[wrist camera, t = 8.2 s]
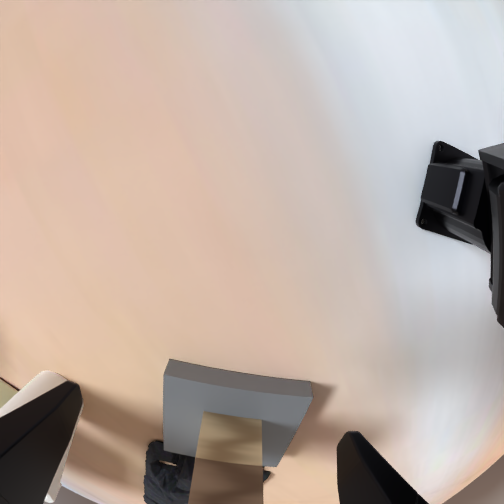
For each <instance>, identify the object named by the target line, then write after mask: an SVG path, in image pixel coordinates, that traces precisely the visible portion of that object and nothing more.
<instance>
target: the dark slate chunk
mask: <svg viewBox="0 0 504 504" xmlns="http://www.w3.org/2000/svg"><path fill="white" fill-rule="evenodd" d="M148 447H149V449H148V450H147V452H146V455H147V456H146V475H145V476H144V478H145V479H144V485H145V487H144V489H145V490H144V492H145V495H144V496H143V497H144V501H145V502H146V503H147V504H188V501H189V495H190V488H191V482H192V476H193V470H194V464H195V457H192V456H187V455H182V454H177V453H173V452H169V451H164V443H161V442H158V441H155V442H152V443H150V445H149V446H148ZM159 460H160V461H167V462H170V463H173V464H176V465H177V466H173V465H168V464H164V463H161V462H160V461H159ZM263 468H264V466H263ZM269 475H270V472H268V471H264V469H263V482H264V481H265V480H266V479H267V478H268V477H269Z"/></svg>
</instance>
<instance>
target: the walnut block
mask: <svg viewBox="0 0 504 504" xmlns="http://www.w3.org/2000/svg"><path fill="white" fill-rule="evenodd" d="M188 504H263V466H256V465H245V464H236V463H228V462H221V461H214V460H208V459H202V458H197V457H196V458H195V464H194V470H193V476H192V482H191V488H190V495H189V501H188Z"/></svg>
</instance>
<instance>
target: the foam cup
mask: <svg viewBox="0 0 504 504" xmlns="http://www.w3.org/2000/svg"><path fill="white" fill-rule="evenodd" d="M65 381H68V380H67V379H65V378H64V377H62V376H61V375H59V374H58V373H55V372H52V371H49V370H46V371H41V372H40V374H37V375H36V376H35V377H34V378H33V379H32V380H31V381H30V382H29V383H27V384H26V385H25V386H24V387H23V388H22V389H21V390H20V391H19V392H18V393H17V394H15V395H14V396H13V397H12V398H11V399H10V400H9V401H8V402H7V403H6V404H5V405H4V406H3V407H2V408H0V417H2V416H4V415H6V414H7V413H9V412H11V411H13V410H15V409H17V408H18V407H20V406H22V405H24V404H26V403H27V402H29V401H31V400H33V399H35V398H37V397H38V396H40V395H42V394H44V393H46V392H47V391H49V390H51V389H53V388H54V387H56V386H58V385H60V384H62V383H63V382H65ZM82 399H83V398H82ZM83 407H84V403H83V404H82V407H81V410H80V413H79V416H78V419H77V422H76V425H75V428H74V431H73V434H72V437H71V440H70V442H69V445H68V447H67V449H66V451H65V453H64V455H63V458H62V460H61V462H60V464H59V467H58V469H57V471H56V474H55V476H54V478H53V481H52V483H51V485H50V488H49V490H48V493H47V495H46V498H45V500H44V501H46V502H48V503H52V502H54V501H55V499H56V496H57V494H58V492H59V489H60V487H61V485H62V484H61V483H60V481H61V477H62V473H63V470H64V466H65V463H66V459H67V456H68V453H69V449H70V446H71V443H72V440H73V437H74V434H75V431H76V428H77V425H78V422H79V419H80V416H81V413H82V409H83Z"/></svg>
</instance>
